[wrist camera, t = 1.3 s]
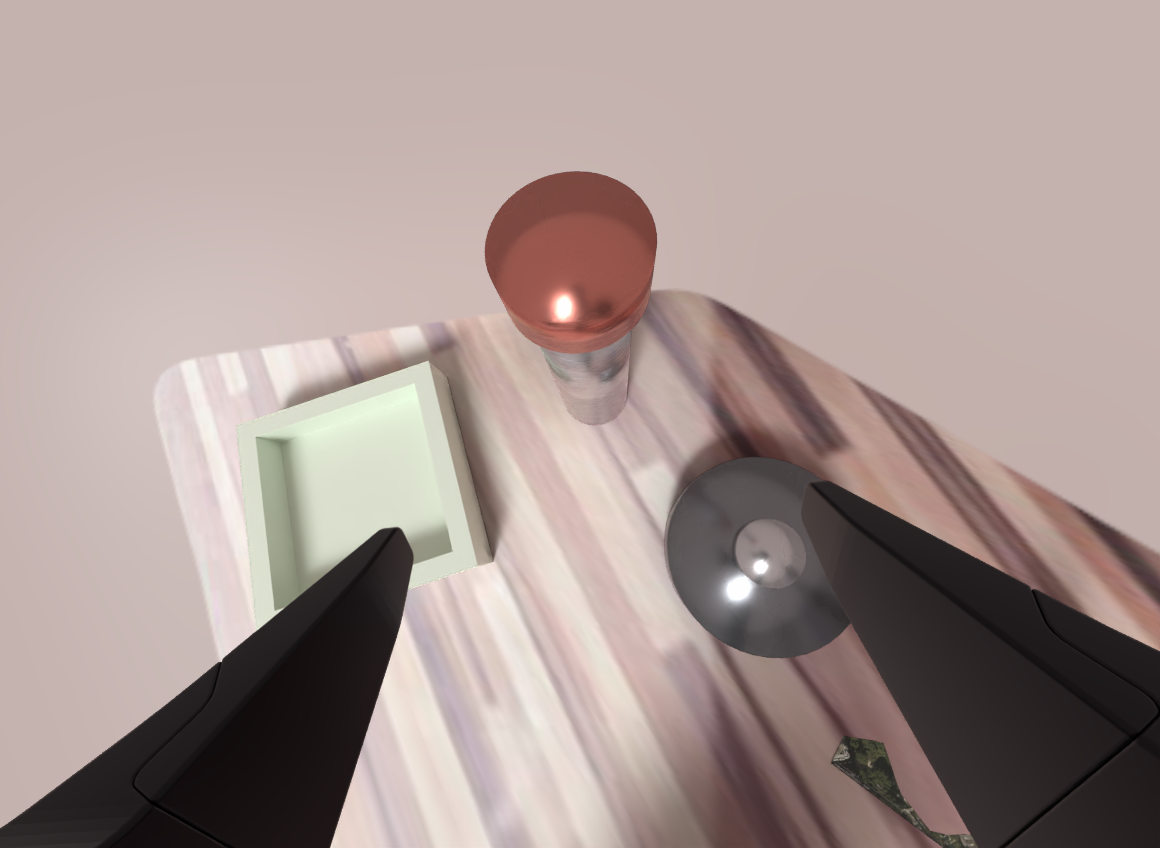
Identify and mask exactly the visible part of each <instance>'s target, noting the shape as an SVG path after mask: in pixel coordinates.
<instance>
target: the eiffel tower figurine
mask: <svg viewBox="0 0 1160 848" xmlns="http://www.w3.org/2000/svg"><path fill="white" fill-rule="evenodd" d="M831 764H833V765H834V766H835V767H837V768H838V769H840V770H841V771H842V772H844V773H845V774H846V775H848V776H849V777H850V778H852V779H853V780H854V781H856V782H857V783H858V784H860V785H861V786H862V787H864V788H865V789H866V790H868V791H869V792H870V793H872V794H873V795H874V796H876V797H877V798H878V799H879V800H881V801H882V802H883V803H885V804H886V805H887V806H889V807H890V808H891V809H893V810H894V811H895V812H897V813H898V814H899V815H901V816H902V817H903V818H904V819H906V820H907V821H908V822H910V823H911V824H912V825H914V826H915V827H916V828H918V829H919V830H920V831H922V832H923V833H924V834H926V835H927V836H928V837H930V838H931V839H932V840H934V841H935V842H936V843H938V844H939V845H940V846H942V847H943V848H978V847H977V845H976V843H975V841H974V839H973V838H972V836H971V835H967V834H962V835H945V834H941V833H937V832H933V831H930V830H929V829H928V827H927V826H926V825H925V824H924V822H923V821H922V820H921V818H920V817H919V816H918V815H917V813H916V812H915V811H914V810H913V808H912V807H911V806H910V805H909V804H908V802H907V801H906V800H905V799H904V798H903V796H902V795H901V793H900V790H899V788H898V785H897V782H896V779H895V776H894V773H893V770H892V767H891V764H890V761H889V758H888V755H887V752H886V749H885V746H884V744H883V743H880V742H877V741H873V740H866V739H860V738H854V737H847V736H843V738H842V741H841V743H840V745H839V747H838V749H837V752H836V754H835V756H834V758H833V761H832V763H831Z"/></svg>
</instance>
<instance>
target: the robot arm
mask: <svg viewBox="0 0 1160 848" xmlns="http://www.w3.org/2000/svg"><path fill="white" fill-rule="evenodd" d="M801 518H802V522H803V524H804V526H805V529H806V531H807V533H808V536H809V538H810V540H811V543H812V545H813V547H814V550H815V552H816V554H817V557H818V559H819V561H820V564H821V566H822V568H823V571H824V573H825V575H826V577H827V580H828V582H829V584H830V586H831V588H832V590H833V592H834V594H835V596H836V597H837V599H838V601H839V603H840V604H841V606H842V608H843V610H844V612H845V613H846V615H847V617H848V619H849V620H850V622H851V624H852V626H853V627H854V629H855V631H856V633H857V635H858V636H859V638H860V640H861V642H862V643H863V645H864V647H865V649H866V650H867V652H868V654H869V656H870V657H871V659H872V661H873V663H874V665H875V666H876V668H877V670H878V672H879V673H880V675H881V677H882V679H883V680H884V682H885V684H886V686H887V688H888V689H889V691H890V693H891V695H892V696H893V698H894V700H895V702H896V703H897V705H898V707H899V709H900V710H901V712H902V714H903V716H904V718H905V719H906V721H907V723H908V725H909V726H910V728H911V730H912V732H913V733H914V735H915V737H916V739H917V741H918V742H919V744H920V746H921V748H922V749H923V751H924V753H925V755H926V756H927V758H928V760H929V762H930V763H931V765H932V767H933V769H934V771H935V772H936V774H937V776H938V778H939V779H940V781H941V783H942V785H943V786H944V788H945V790H946V792H947V794H948V795H949V797H950V799H951V801H952V802H953V804H954V806H955V808H956V809H957V811H958V813H959V815H960V816H961V818H962V820H963V822H964V824H965V825H966V827H967V829H968V831H969V832H970V834H971V836H972V838H973V839H974V841H975V843H976V845H977V847H978V848H1160V651H1158V650H1156V649H1154V648H1152V647H1150V646H1148V645H1146V644H1144V643H1142V642H1139V641H1137V640H1135V639H1133V638H1131V637H1129V636H1127V635H1125V634H1123V633H1121V632H1119V631H1117V630H1114V629H1112V628H1110V627H1108V626H1106V625H1104V624H1102V623H1100V622H1099V621H1097V620H1095V619H1093V618H1091V617H1089V616H1087V615H1085V614H1083V613H1081V612H1079V611H1077V610H1075V609H1073V608H1071V607H1069V606H1067V605H1065V604H1063V603H1061V602H1059V601H1057V600H1056V599H1054V598H1052V597H1050V596H1048V595H1046V594H1044V593H1042V592H1040V591H1038V590H1036V589H1032V590H1031V588H1030V586H1028V585H1027V584H1025V583H1023V582H1021V581H1019V580H1017V579H1015V578H1013V577H1011V576H1009V575H1008V574H1006V573H1004V572H1002V571H1000V570H998V569H996V568H994V567H992V566H990V565H988V564H987V563H985V562H983V561H981V560H979V559H977V558H975V557H973V556H971V555H969V554H968V553H966V552H964V551H962V550H960V549H958V548H956V547H954V546H952V545H950V544H948V543H947V542H945V541H943V540H941V539H939V538H937V537H935V536H933V535H931V534H929V533H927V532H926V531H924V530H922V529H920V528H918V527H916V526H914V525H912V524H910V523H908V522H906V521H905V520H903V519H901V518H899V517H897V516H895V515H893V514H891V513H889V512H887V511H886V510H884V509H882V508H880V507H878V506H876V505H874V504H872V503H870V502H868V501H866V500H865V499H863V498H861V497H859V496H857V495H855V494H853V493H851V492H849V491H847V490H845V489H844V488H842V487H840V486H838V485H836V484H834V483H832V482H830V481H817V482H810V483H808V484H807V485H806V487H805V491H804V497H803V502H802V507H801ZM413 562H414V554H413V551H412V548H411V546H410V544H409V542H408V540H407V538H406V536H405V534H404V532H403V530H402V529H401V528H399V527H390V528H383V529H380V530H379V531H377V532H376V533H375V534H374V535H372V536H371V537H370V538H369V539H368V540H366V541H365V542H364V543H363V544H361V545H360V546H359V547H358V548H357V549H355V550H354V551H353V552H352V553H351V554H349V555H348V556H347V557H346V558H344V559H343V560H342V561H341V562H340V563H338V564H337V565H336V566H335V567H334V568H332V569H331V570H330V571H329V572H327V573H326V574H325V575H324V576H323V577H321V578H320V579H319V580H318V581H317V582H315V583H314V584H313V585H312V586H310V587H309V588H308V589H307V590H306V591H304V592H303V593H302V594H301V595H300V596H298V597H297V598H296V599H295V600H293V601H292V602H291V603H290V604H289V605H287V606H286V607H285V608H284V609H282V610H281V611H280V612H279V613H278V614H276V615H275V616H274V617H273V618H272V619H270V620H269V621H268V622H267V623H265V624H264V625H263V626H262V627H261V628H259V629H258V630H257V631H256V632H255V633H253V634H252V635H251V636H250V637H248V638H247V639H246V640H245V641H244V642H242V643H241V644H240V645H239V646H238V647H236V648H235V649H234V650H233V651H231V652H230V653H229V654H228V655H227V656H225V657H224V658H223V660H222V662H218V663H217V664H215V665H214V666H213V667H212V668H211V669H209V670H208V671H207V672H206V673H205V674H203V675H202V676H201V677H200V678H199V679H197V680H196V681H195V682H194V683H192V684H191V685H190V686H189V687H188V688H186V689H185V690H184V691H182V692H181V693H180V694H179V695H178V696H176V697H175V698H174V699H172V700H171V701H170V702H169V703H168V704H166V705H165V706H164V707H162V708H161V709H160V710H159V711H157V712H156V713H155V714H153V715H152V716H151V717H149V718H148V719H147V720H146V721H144V722H143V723H142V724H140V725H139V726H138V727H136V728H135V729H134V730H132V731H131V732H130V733H128V734H127V735H126V736H124V737H123V738H122V739H120V740H119V741H118V742H117V743H115V744H114V745H113V746H111V747H110V748H108V749H107V750H106V751H104V752H103V753H102V754H100V755H99V756H98V757H96V758H95V759H94V760H92V761H91V762H90V763H88V764H87V765H86V766H84V767H83V768H82V769H81V770H79V771H78V772H76V773H75V774H74V775H72V776H71V777H70V778H69V779H67V780H66V781H64V782H63V783H62V784H61V785H59V786H58V787H56V788H55V789H54V790H52V791H51V792H50V793H48V794H47V795H46V796H44V797H43V798H42V799H40V800H39V801H38V802H36V803H35V804H34V805H32V806H31V807H30V808H28V809H27V810H26V811H24V812H23V813H22V814H20V815H19V816H17V817H16V818H15V819H13V820H12V821H10V822H9V823H8V824H6V825H5V826H3V827H2V828H0V848H330V846H331V843H332V840H333V837H334V834H335V830H336V827H337V824H338V821H339V818H340V815H341V812H342V808H343V805H344V802H345V799H346V796H347V793H348V790H349V786H350V783H351V780H352V777H353V774H354V771H355V767H356V764H357V761H358V758H359V755H360V752H361V749H362V745H363V742H364V739H365V736H366V733H367V730H368V726H369V723H370V720H371V717H372V714H373V711H374V708H375V704H376V701H377V698H378V695H379V692H380V689H381V685H382V682H383V679H384V676H385V673H386V670H387V667H388V663H389V660H390V657H391V654H392V651H393V648H394V644H395V641H396V638H397V635H398V631H399V628H400V624H401V620H402V616H403V611H404V606H405V601H406V596H407V591H408V587H409V582H410V577H411V572H412V567H413Z"/></svg>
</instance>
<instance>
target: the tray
mask: <svg viewBox="0 0 1160 848" xmlns="http://www.w3.org/2000/svg"><path fill="white" fill-rule="evenodd" d="M236 430H237V440H238V450H239V460H240V471H241V481H242V491H243V501H244V511H245V522H246V532H247V542H248V552H249V562H250V573H251V583H252V593H253V603H254V613H255V624H256V631H257V630H258V629H259V628H261V627H262V626H263V625H264V624H265V623H267V622H268V621H269V620H270V619H272V618H273V617H274V616H275V615H276V614H278V613H279V612H280V611H281V610H282V609H284V608H285V607H286V606H287V605H289V604H290V603H291V602H292V601H293V600H295V599H296V598H297V597H298V596H300V595H301V594H302V593H303V592H304V591H306V590H307V589H308V588H309V587H310V586H312V585H313V584H314V583H315V582H317V581H318V580H319V579H320V578H321V577H323V576H324V575H325V574H326V573H327V572H329V571H330V570H331V569H332V568H334V567H335V566H336V565H337V564H338V563H340V562H341V561H342V560H343V559H344V558H346V557H347V556H348V555H349V554H351V553H352V552H353V551H354V550H355V549H357V548H358V547H359V546H360V545H361V544H363V543H364V542H365V541H366V540H368V539H369V538H370V537H371V536H372V535H374V534H375V533H376V532H377V531H379V530H380V529H383V528H390V527H399V528H401V529H402V530H403V532H404V534H405V536H406V538H407V540H408V542H409V544H410V546H411V548H412V551H413V554H414V562H413V567H412V572H411V577H410V582H409V587H408V590H410V589H413V588H416V587H419V586H422V585H425V584H428V583H431V582H434V581H437V580H440V579H443V578H446V577H449V576H452V575H455V574H458V573H461V572H464V571H467V570H470V569H473V568H476V567H479V566H482V565H485V564H488V563H491V562H493V559H492V555H491V551H490V547H489V543H488V539H487V535H486V531H485V527H484V523H483V519H482V515H481V511H480V507H479V503H478V499H477V495H476V491H475V487H474V483H473V479H472V475H471V471H470V467H469V463H468V459H467V455H466V451H465V447H464V443H463V439H462V435H461V431H460V427H459V423H458V419H457V415H456V411H455V407H454V403H453V399H452V395H451V391H450V387H449V383H448V379H447V376H445V375H444V374H443V373H442V372H441V371H440V370H439V369H437V368H436V367H435V366H434V365H433V364H432V363H431V362H429V361H426V362H423V363H420V364H417V365H414V366H411V367H408V368H405V369H402V370H399V371H396V372H393V373H390V374H387V375H384V376H381V377H378V378H375V379H373V380H370V381H367V382H364V383H361V384H358V385H355V386H352V387H349V388H346V389H343V390H340V391H337V392H334V393H331V394H328V395H325V396H322V397H319V398H316V399H313V400H310V401H307V402H304V403H301V404H298V405H295V406H292V407H289V408H286V409H283V410H280V411H278V412H275V413H272V414H269V415H266V416H263V417H260V418H257V419H254V420H251V421H248V422H245V423H242V424H239V425H236Z"/></svg>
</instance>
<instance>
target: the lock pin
mask: <svg viewBox="0 0 1160 848" xmlns="http://www.w3.org/2000/svg"><path fill="white" fill-rule="evenodd" d="M656 248H657V233H656V228H655V223H654V220H653V218H652V215H651V213H650V211H649V209H648V208H647V206H646V205H645V203H644V202H643V200H642V199H641V198H640V197H639V196H638V195H637V194H636V193H635V192H634V191H633V190H632V189H630V188H629V187H628V186H626V185H624V184H623V183H621V182H619V181H618V180H615V179H613V178H610V177H608V176H605V175H601V174H597V173H591V172H579V171H574V172H563V173H557V174H553V175H549V176H546V177H543V178H541V179H538V180H536V181H534V182H532V183H530V184H528V185H526V186H524V187H523V188H521V189H520V190H519V191H517V192H516V193H515V194H514V195H512V196H511V197H510V198H509V199H508V200H507V201H506V202H505V203H504V204H503V205H502V207H501V208H500V210H499V211H498V212H497V214H496V215H495V217H494V219H493V221H492V223H491V226H490V228H489V230H488V234H487V238H486V244H485V261H486V266H487V270H488V273H489V275H490V278H491V280H492V282H493V284H494V286H495V288H496V290H497V292H498V294H499V296H500V298H501V300H502V302H503V304H504V306H505V308H506V310H507V312H508V314H509V316H510V317H511V319H512V321H513V323H514V324H515V326H516V327H517V328H518V330H519V331H520V332H521V333H522V334H523V335H524V336H525V337H526V338H528V339H529V340H531V341H532V342H533V343H535V344H537V345H539V346H540V347H541V349H542V352H543V354H544V356H545V359H546V361H547V363H548V366H549V368H550V370H551V373H552V375H553V377H554V380H555V382H556V384H557V387H558V389H559V391H560V394H561V396H562V398H563V401H564V403H565V405H566V408H567V410H568V411H569V413H570V414H571V415H572V416H573V417H574V418H575V419H576V420H578V421H580V422H582V423H584V424H588V425H602V424H605V423H608V422H610V421H612V420H613V419H615V418H616V417H617V416H618V415H619V414H620V413H621V411H622V410H623V408H624V406H625V403H626V399H627V386H628V372H629V358H630V344H631V330H632V329H633V328H634V326H635V325H636V324H637V323H638V322H639V320H640V318H641V317H642V315H643V314H644V312H645V309H646V307H647V305H648V301H649V297H650V292H651V284H652V277H653V270H654V263H655V256H656Z"/></svg>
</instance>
